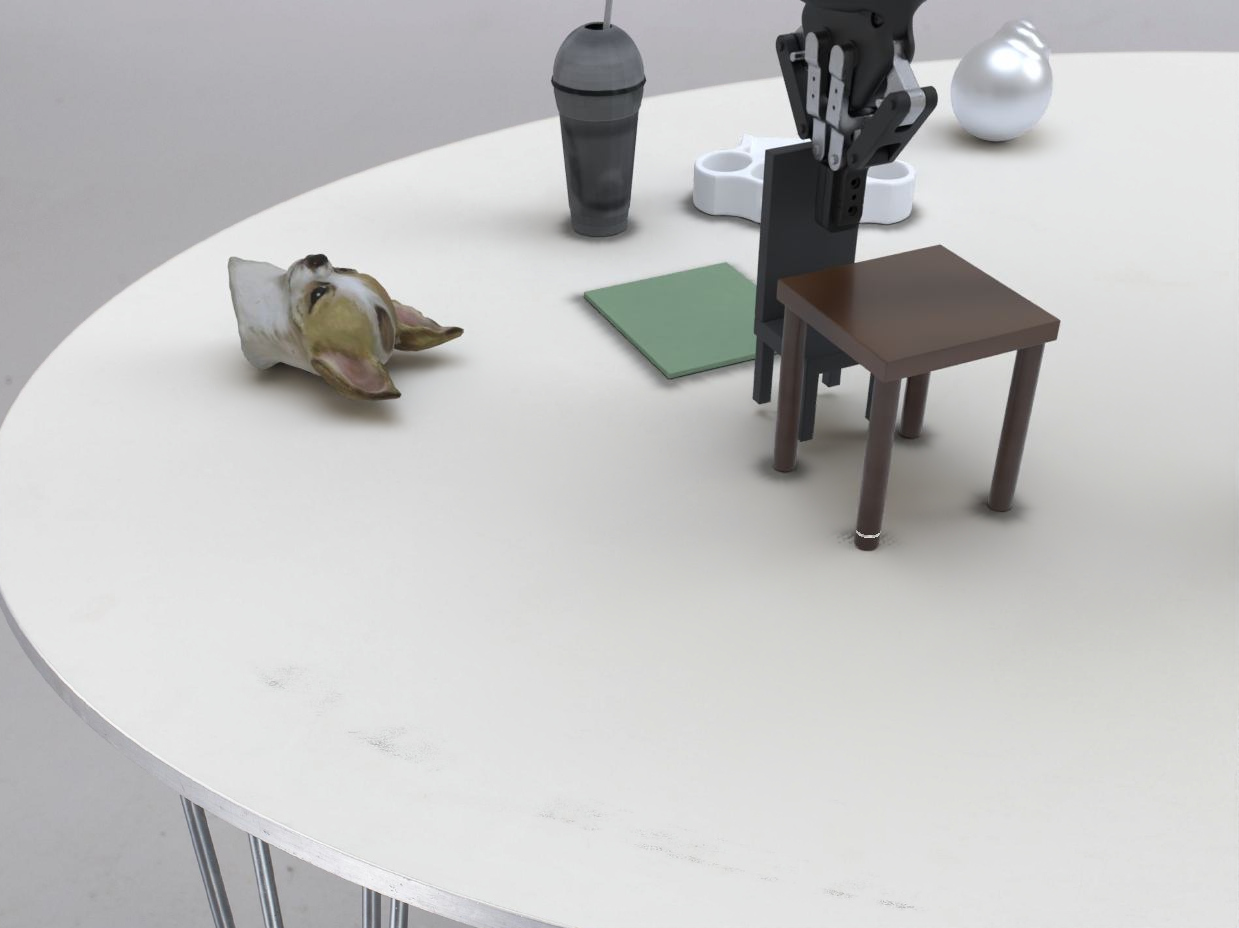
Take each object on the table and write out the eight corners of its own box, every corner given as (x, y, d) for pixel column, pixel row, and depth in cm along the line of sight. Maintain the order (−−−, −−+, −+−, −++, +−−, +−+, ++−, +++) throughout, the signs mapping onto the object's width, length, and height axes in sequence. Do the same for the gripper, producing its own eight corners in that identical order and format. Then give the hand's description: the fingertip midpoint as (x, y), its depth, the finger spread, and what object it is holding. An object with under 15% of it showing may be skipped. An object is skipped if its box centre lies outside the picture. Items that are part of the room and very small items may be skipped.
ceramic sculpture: (268, 203, 99) (466, 247, 95) (281, 318, 104) (468, 364, 100) (179, 267, 91) (390, 317, 87) (198, 387, 97) (397, 439, 93)
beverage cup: (572, 203, 121) (567, -56, 108) (655, 213, 119) (660, -49, 106) (541, 237, 115) (532, -32, 103) (628, 248, 113) (629, -24, 101)
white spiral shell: (1067, 149, 129) (1090, 32, 123) (971, 160, 127) (989, 42, 121) (1018, 116, 136) (1038, 3, 129) (926, 126, 134) (941, 12, 127)
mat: (822, 342, 101) (822, 337, 100) (668, 379, 97) (669, 373, 97) (726, 266, 111) (726, 261, 110) (583, 296, 107) (583, 291, 107)
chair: (887, 421, 91) (922, 167, 80) (799, 444, 89) (823, 187, 78) (833, 377, 95) (859, 131, 85) (748, 398, 93) (764, 149, 83)
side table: (1021, 508, 84) (1061, 319, 77) (861, 555, 81) (886, 362, 73) (914, 422, 92) (940, 243, 84) (763, 462, 89) (777, 279, 81)
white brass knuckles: (910, 171, 125) (911, 240, 114) (703, 162, 128) (685, 228, 116) (915, 133, 123) (917, 198, 112) (705, 123, 125) (686, 187, 114)
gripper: (1013, -84, 69) (958, 257, 80) (861, -135, 79) (830, 177, 90) (881, -67, 67) (843, 283, 78) (741, -121, 76) (724, 198, 87)
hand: (836, 226), depth 84 cm, fingers closed
